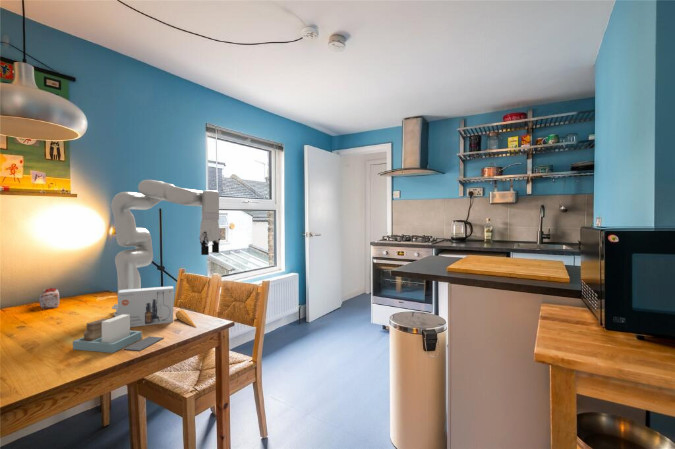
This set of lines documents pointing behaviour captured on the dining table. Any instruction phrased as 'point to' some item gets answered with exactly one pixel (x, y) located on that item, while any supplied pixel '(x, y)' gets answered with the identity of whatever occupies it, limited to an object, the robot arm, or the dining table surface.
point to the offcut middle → (92, 334)
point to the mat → (143, 343)
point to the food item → (49, 298)
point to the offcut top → (95, 325)
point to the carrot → (184, 317)
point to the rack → (107, 347)
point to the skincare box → (147, 305)
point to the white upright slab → (116, 328)
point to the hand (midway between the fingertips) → (210, 253)
